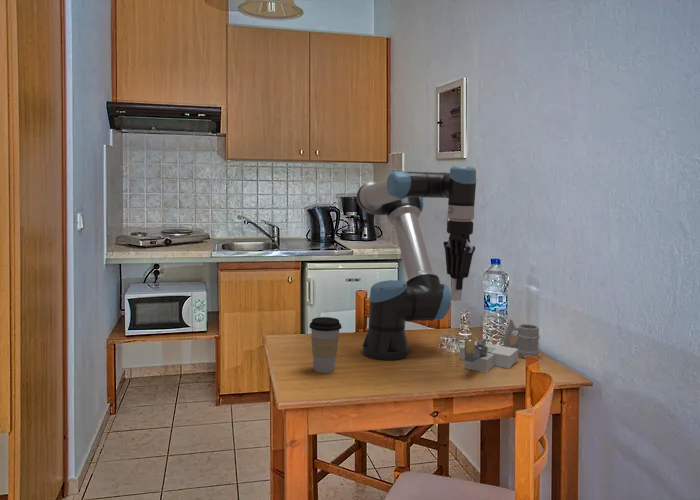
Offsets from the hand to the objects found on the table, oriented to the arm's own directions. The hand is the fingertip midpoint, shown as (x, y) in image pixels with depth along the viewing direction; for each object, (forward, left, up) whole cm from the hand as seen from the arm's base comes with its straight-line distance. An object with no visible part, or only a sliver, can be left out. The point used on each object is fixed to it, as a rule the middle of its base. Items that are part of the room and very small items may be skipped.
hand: (455, 300), depth 187 cm
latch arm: (+6, +4, -17) cm, 19 cm away
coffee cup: (-31, -22, -22) cm, 44 cm away
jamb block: (+6, +8, -22) cm, 24 cm away
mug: (+13, +29, -22) cm, 39 cm away
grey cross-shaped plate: (+6, +18, -22) cm, 28 cm away
